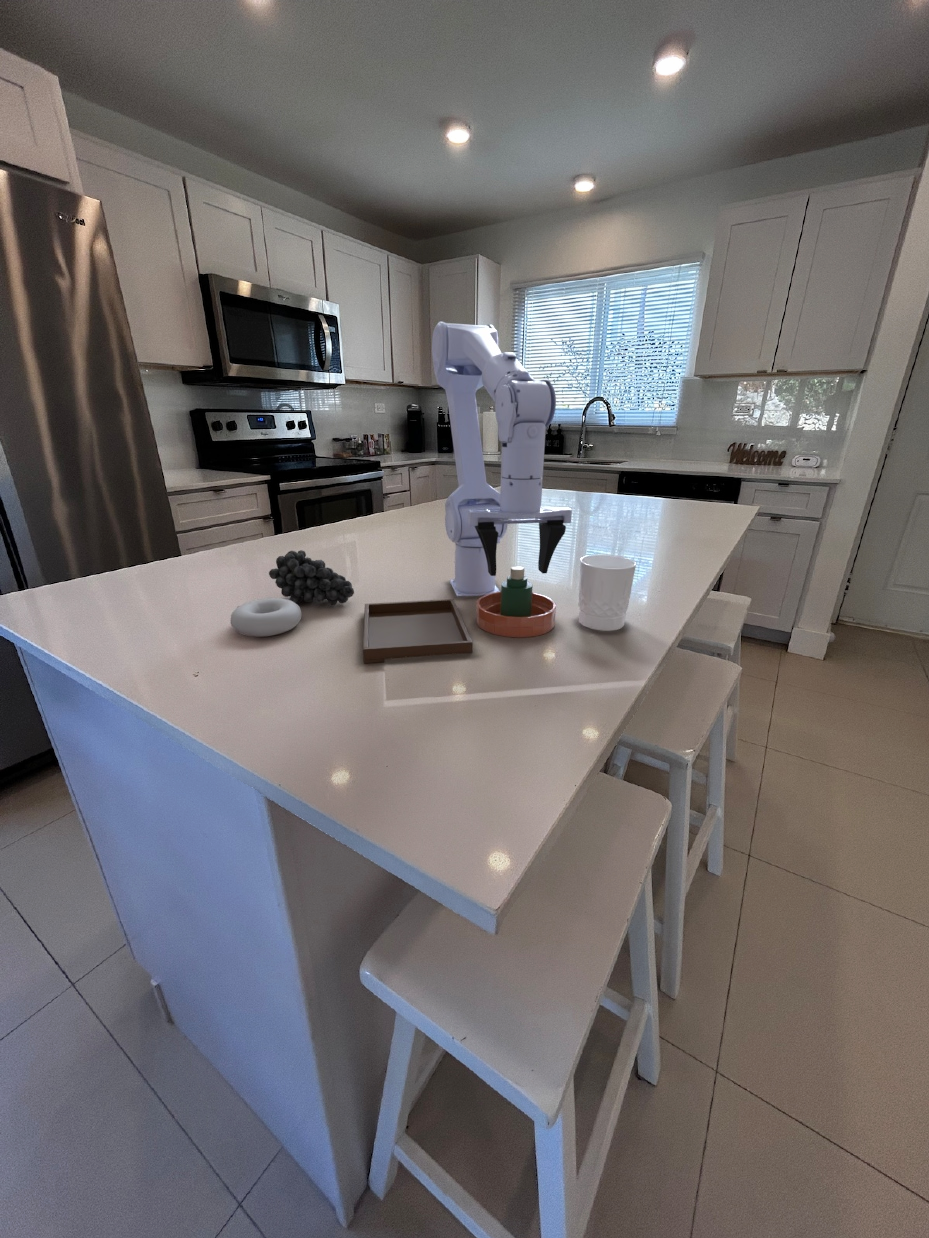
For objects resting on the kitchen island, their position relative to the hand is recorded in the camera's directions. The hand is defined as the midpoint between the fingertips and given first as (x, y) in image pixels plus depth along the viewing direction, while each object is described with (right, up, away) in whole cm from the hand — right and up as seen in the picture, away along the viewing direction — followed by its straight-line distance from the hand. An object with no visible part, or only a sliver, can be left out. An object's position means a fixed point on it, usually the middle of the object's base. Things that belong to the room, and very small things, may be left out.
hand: (517, 572), depth 75 cm
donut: (-37, -8, +2) cm, 38 cm away
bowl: (0, -8, +3) cm, 8 cm away
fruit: (-33, -4, +12) cm, 35 cm away
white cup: (+13, -8, +3) cm, 16 cm away
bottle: (0, -7, +3) cm, 8 cm away
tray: (-15, -9, 0) cm, 18 cm away
